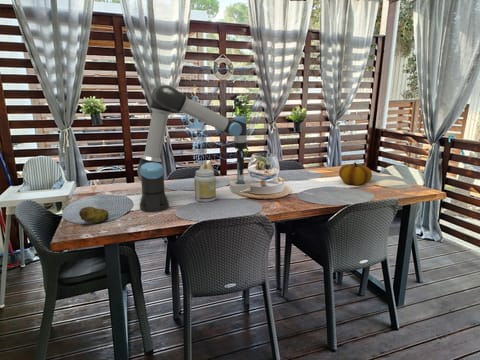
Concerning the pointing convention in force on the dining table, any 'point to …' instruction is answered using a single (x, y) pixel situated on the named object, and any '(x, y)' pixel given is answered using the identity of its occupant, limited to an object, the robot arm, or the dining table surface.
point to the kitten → (207, 166)
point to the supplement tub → (205, 185)
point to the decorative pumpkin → (355, 174)
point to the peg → (238, 176)
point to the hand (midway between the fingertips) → (240, 178)
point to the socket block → (239, 186)
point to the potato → (93, 214)
